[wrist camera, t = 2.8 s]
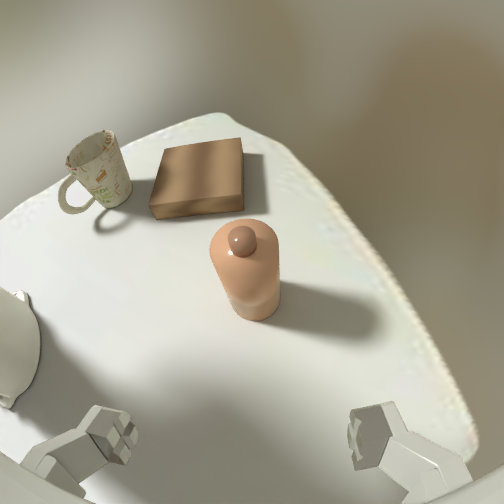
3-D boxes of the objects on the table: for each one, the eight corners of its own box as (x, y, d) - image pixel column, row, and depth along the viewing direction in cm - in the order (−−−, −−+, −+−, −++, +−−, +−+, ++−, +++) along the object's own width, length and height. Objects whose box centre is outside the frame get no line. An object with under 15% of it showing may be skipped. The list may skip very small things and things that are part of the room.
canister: (231, 322, 28) (203, 272, 19) (231, 277, 31) (208, 212, 22) (282, 319, 28) (281, 266, 19) (278, 273, 31) (275, 206, 21)
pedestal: (156, 219, 37) (148, 205, 34) (170, 162, 43) (164, 148, 41) (243, 210, 36) (241, 194, 33) (242, 152, 42) (240, 137, 40)
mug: (148, 185, 41) (124, 135, 32) (89, 242, 36) (52, 198, 28) (123, 170, 44) (100, 126, 36) (70, 219, 39) (38, 179, 31)
